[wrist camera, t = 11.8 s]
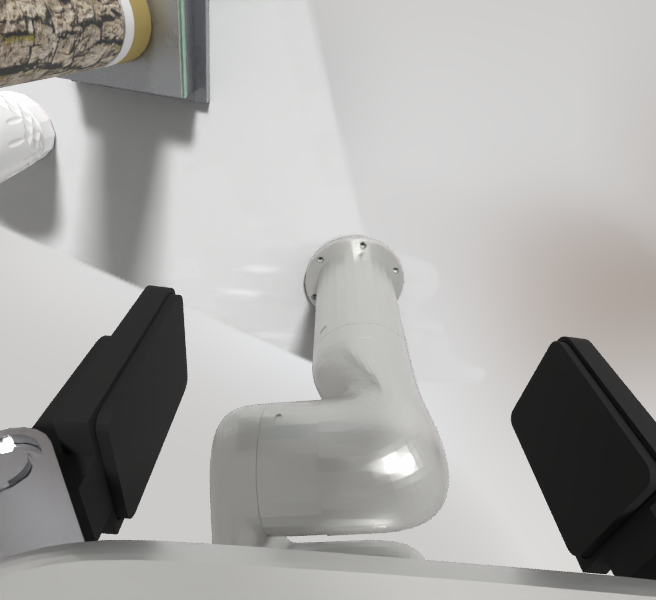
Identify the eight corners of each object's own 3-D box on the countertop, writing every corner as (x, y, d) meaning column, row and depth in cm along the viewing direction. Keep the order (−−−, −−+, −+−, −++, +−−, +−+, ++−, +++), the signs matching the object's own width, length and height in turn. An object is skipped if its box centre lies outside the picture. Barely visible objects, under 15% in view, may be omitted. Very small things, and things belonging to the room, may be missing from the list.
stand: (209, 101, 42) (193, 111, 37) (77, 79, 41) (42, 87, 36) (208, -65, 35) (187, -80, 30) (49, -97, 34) (0, -118, 29)
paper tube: (155, 71, 35) (-92, 139, 15) (72, 52, 35) (-311, 97, 14) (153, -28, 32) (-184, -124, 11) (60, -51, 31) (-489, -200, 10)
